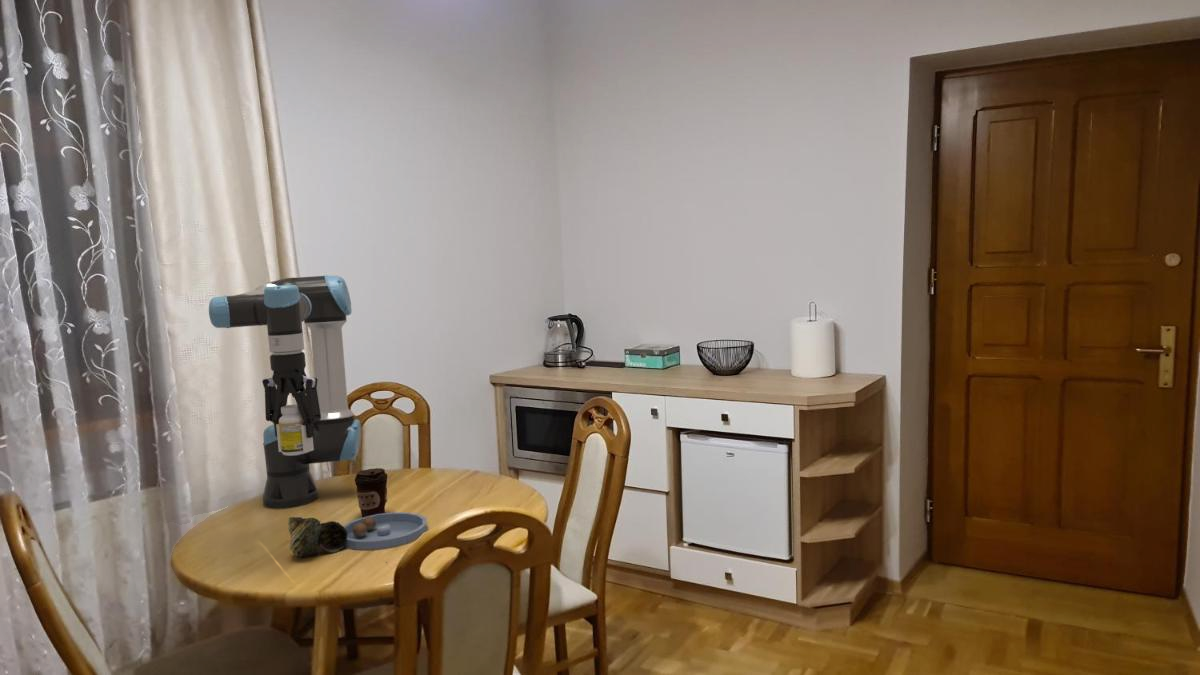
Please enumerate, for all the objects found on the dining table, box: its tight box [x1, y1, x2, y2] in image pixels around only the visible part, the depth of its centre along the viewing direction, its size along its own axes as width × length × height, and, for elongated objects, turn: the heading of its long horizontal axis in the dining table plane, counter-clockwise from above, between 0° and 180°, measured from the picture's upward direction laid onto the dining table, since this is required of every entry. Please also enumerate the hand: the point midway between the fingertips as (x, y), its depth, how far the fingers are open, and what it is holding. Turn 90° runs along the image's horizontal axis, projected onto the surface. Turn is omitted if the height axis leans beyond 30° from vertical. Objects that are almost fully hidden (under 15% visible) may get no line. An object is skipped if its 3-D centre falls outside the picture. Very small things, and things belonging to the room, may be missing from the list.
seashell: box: [287, 516, 347, 558], centre depth 185 cm, size 11×11×10 cm
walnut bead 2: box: [362, 517, 376, 531], centre depth 200 cm, size 4×4×4 cm
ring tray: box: [343, 511, 428, 551], centre depth 197 cm, size 21×21×3 cm
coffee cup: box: [354, 467, 388, 518], centre depth 211 cm, size 9×8×13 cm
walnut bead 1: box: [353, 523, 367, 538], centre depth 195 cm, size 4×4×4 cm
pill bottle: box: [279, 403, 304, 456], centre depth 184 cm, size 6×6×11 cm
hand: (296, 450), depth 185 cm, fingers closed on pill bottle, 6 cm apart
